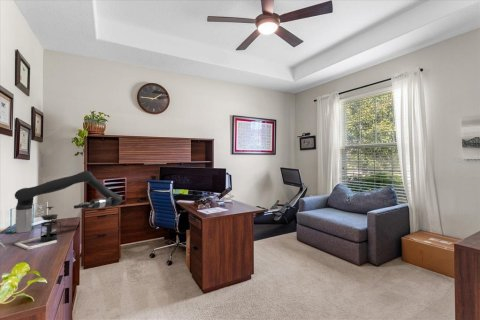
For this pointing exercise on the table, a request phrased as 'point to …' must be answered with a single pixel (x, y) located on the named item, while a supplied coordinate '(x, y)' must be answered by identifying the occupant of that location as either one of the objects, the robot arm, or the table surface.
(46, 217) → the french press
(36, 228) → the table surface
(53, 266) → the table surface
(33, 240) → the bay
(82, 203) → the robot arm
